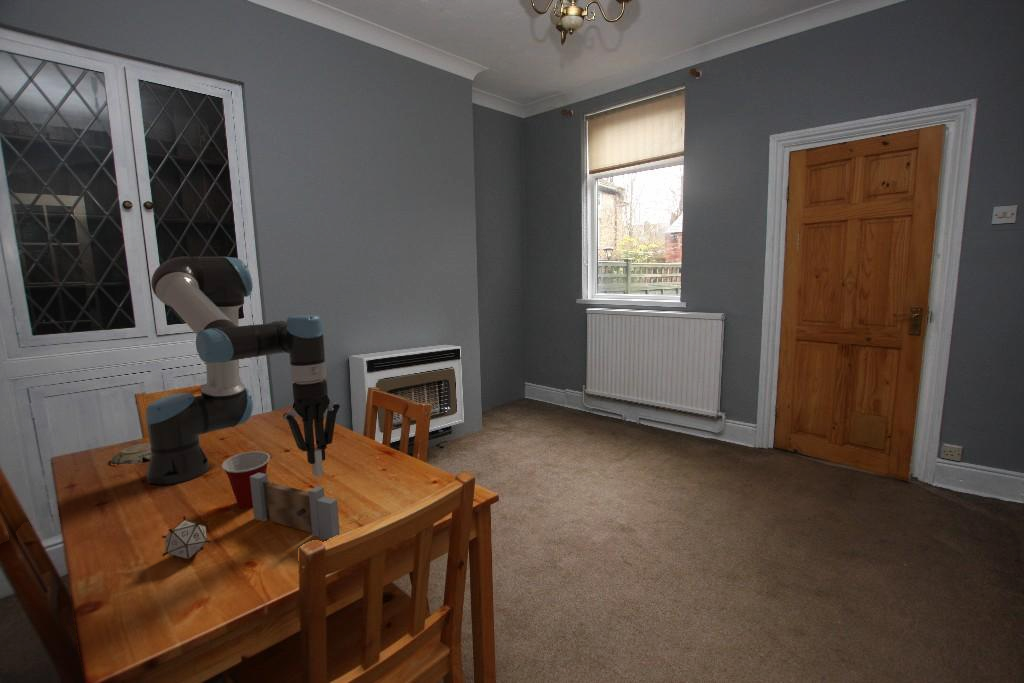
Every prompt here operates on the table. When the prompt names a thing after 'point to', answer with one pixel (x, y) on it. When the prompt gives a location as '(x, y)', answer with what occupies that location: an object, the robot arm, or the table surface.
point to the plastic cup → (244, 474)
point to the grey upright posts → (320, 508)
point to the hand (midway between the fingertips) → (317, 474)
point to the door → (287, 506)
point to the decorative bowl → (132, 454)
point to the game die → (186, 539)
